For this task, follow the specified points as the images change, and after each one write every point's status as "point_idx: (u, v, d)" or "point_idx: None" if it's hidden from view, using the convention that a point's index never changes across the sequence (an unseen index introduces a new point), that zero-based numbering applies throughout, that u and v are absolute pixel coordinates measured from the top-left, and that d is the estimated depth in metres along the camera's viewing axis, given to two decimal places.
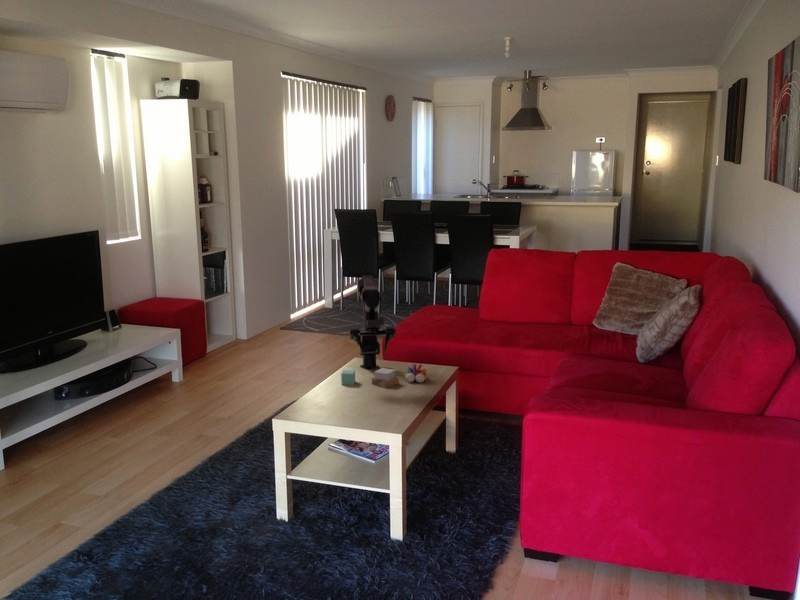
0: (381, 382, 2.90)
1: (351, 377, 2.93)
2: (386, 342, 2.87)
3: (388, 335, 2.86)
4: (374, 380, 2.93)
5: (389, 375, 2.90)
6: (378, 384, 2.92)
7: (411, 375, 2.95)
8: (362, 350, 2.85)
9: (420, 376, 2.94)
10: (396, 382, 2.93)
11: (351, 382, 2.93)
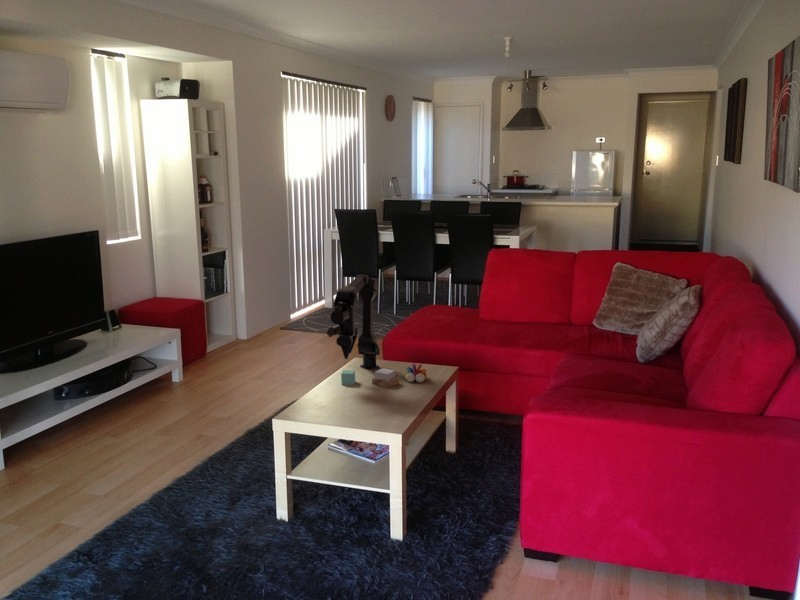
0: (381, 382, 2.90)
1: (351, 377, 2.93)
2: None
3: None
4: (374, 380, 2.93)
5: (389, 375, 2.90)
6: (378, 384, 2.91)
7: (411, 375, 2.95)
8: None
9: (420, 376, 2.94)
10: (396, 382, 2.93)
11: (351, 382, 2.93)
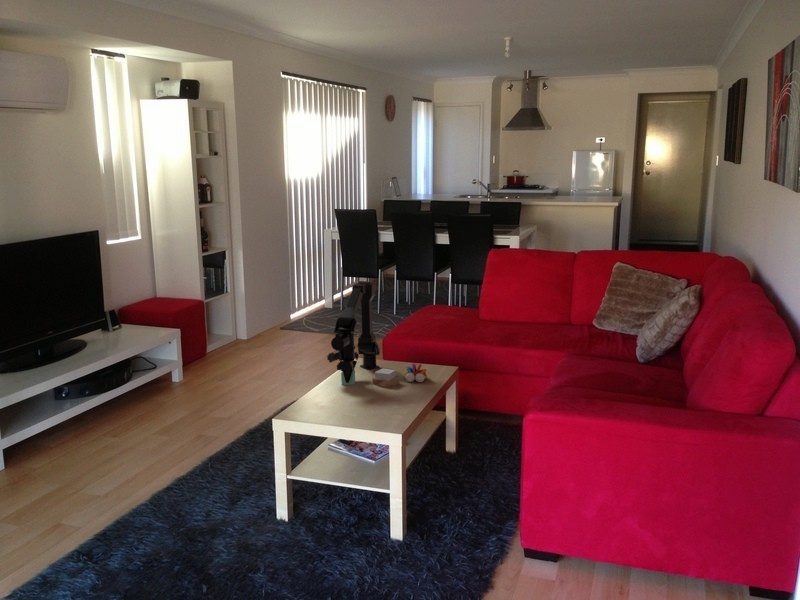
0: (382, 382, 2.90)
1: (351, 377, 2.93)
2: None
3: None
4: (375, 380, 2.93)
5: (390, 375, 2.90)
6: (379, 384, 2.91)
7: (411, 375, 2.95)
8: None
9: (420, 376, 2.94)
10: (397, 382, 2.93)
11: (351, 382, 2.93)
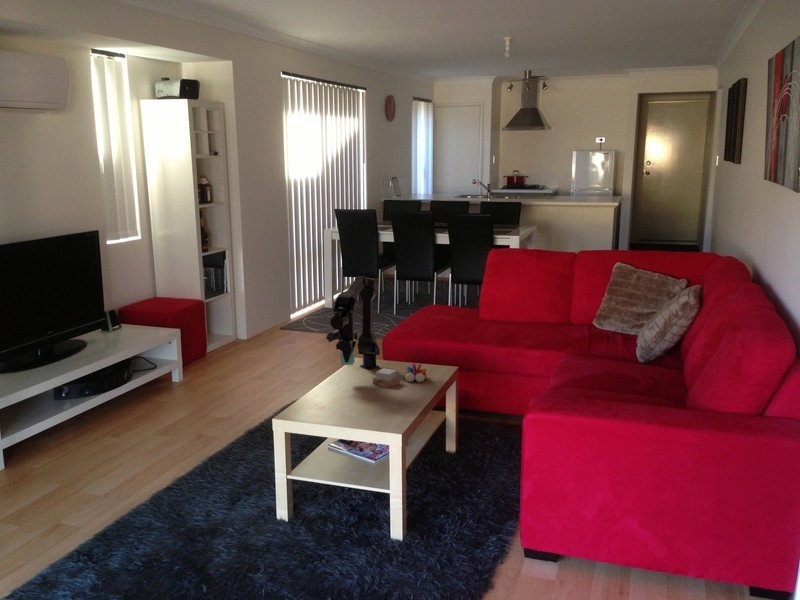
0: (382, 382, 2.90)
1: (350, 357, 2.91)
2: None
3: None
4: (375, 380, 2.93)
5: (390, 375, 2.90)
6: (379, 384, 2.91)
7: (411, 375, 2.95)
8: None
9: (420, 376, 2.94)
10: (397, 382, 2.93)
11: (350, 362, 2.91)
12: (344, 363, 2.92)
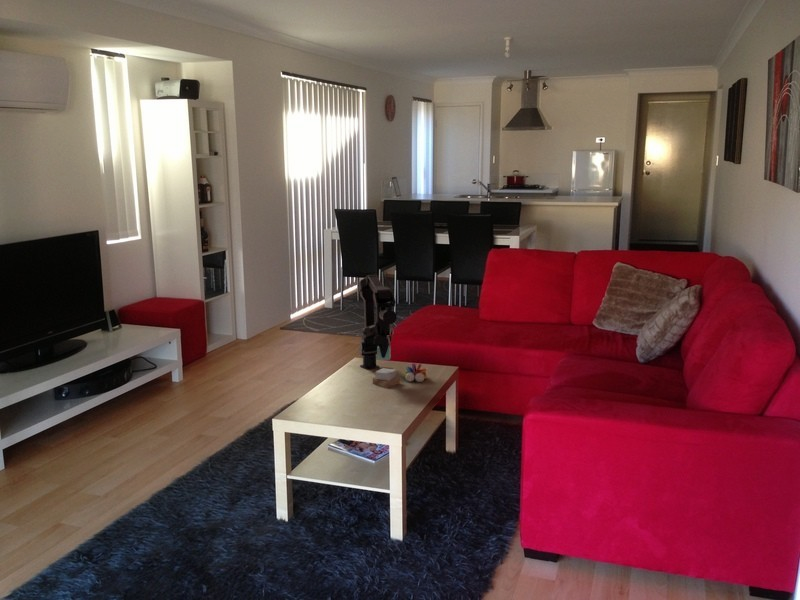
0: (382, 382, 2.90)
1: (387, 352, 2.89)
2: None
3: None
4: (375, 380, 2.93)
5: (390, 374, 2.90)
6: (379, 384, 2.92)
7: (411, 375, 2.95)
8: None
9: (420, 376, 2.94)
10: (397, 382, 2.93)
11: (387, 357, 2.90)
12: (381, 358, 2.90)
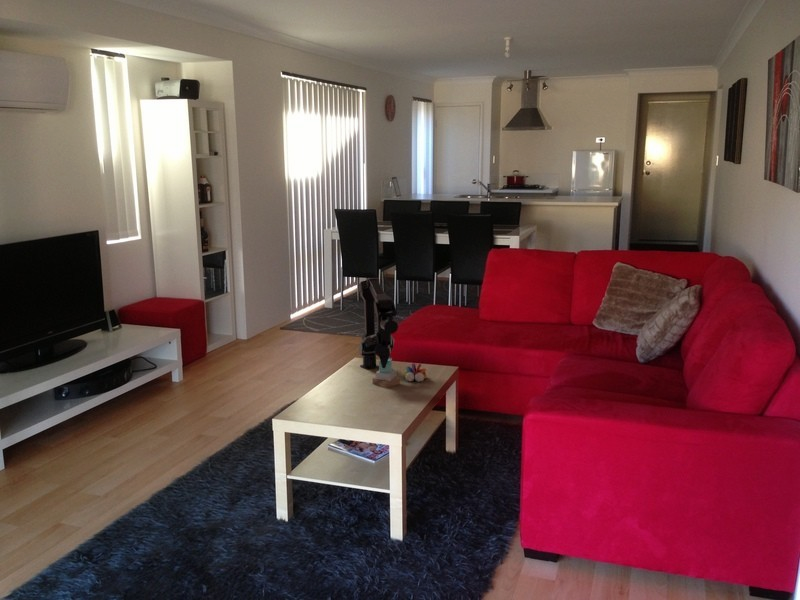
0: (382, 382, 2.90)
1: (389, 364, 2.90)
2: None
3: None
4: (375, 380, 2.93)
5: (391, 375, 2.90)
6: (379, 384, 2.91)
7: (410, 374, 2.96)
8: None
9: (419, 375, 2.95)
10: (397, 382, 2.93)
11: (389, 369, 2.91)
12: (382, 371, 2.91)
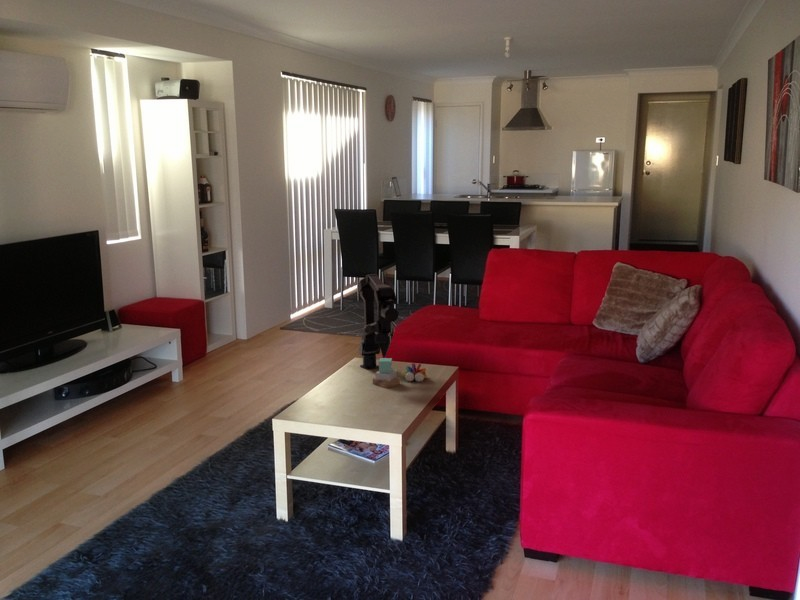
0: (382, 383, 2.90)
1: (389, 365, 2.90)
2: None
3: None
4: (375, 381, 2.93)
5: (390, 375, 2.90)
6: (379, 385, 2.91)
7: (410, 374, 2.96)
8: None
9: (419, 375, 2.95)
10: (397, 383, 2.93)
11: (389, 370, 2.91)
12: (382, 371, 2.91)
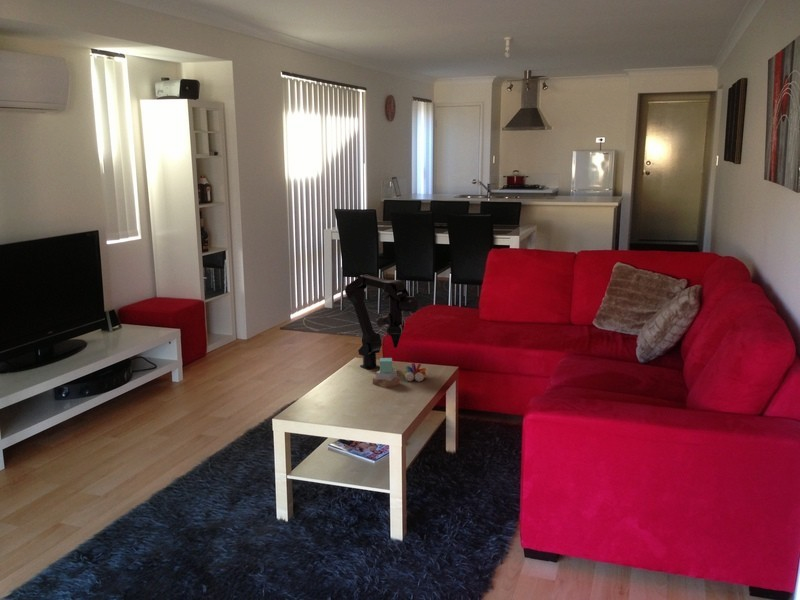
0: (382, 382, 2.90)
1: (390, 365, 2.90)
2: (392, 339, 3.00)
3: None
4: (375, 380, 2.93)
5: (391, 375, 2.90)
6: (379, 384, 2.91)
7: (410, 374, 2.96)
8: None
9: (419, 375, 2.95)
10: (397, 382, 2.93)
11: (390, 370, 2.90)
12: (383, 371, 2.90)
